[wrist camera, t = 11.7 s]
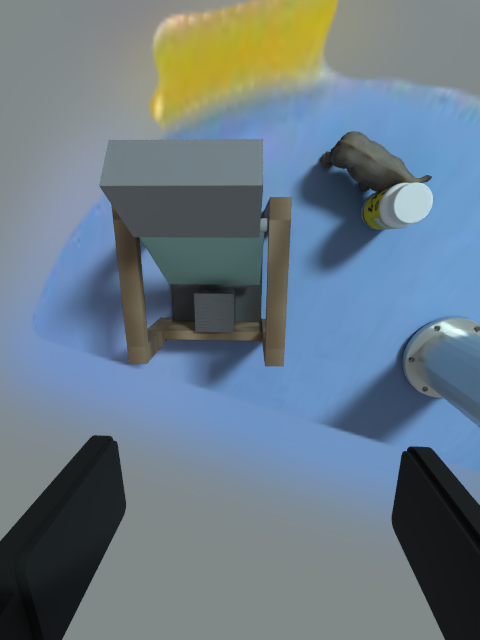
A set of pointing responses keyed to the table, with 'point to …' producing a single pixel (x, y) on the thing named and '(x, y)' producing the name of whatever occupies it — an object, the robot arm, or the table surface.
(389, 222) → the supplement bottle
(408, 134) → the table surface
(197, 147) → the grey and green slab
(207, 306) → the block
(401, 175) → the rhino figurine
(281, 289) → the frame
